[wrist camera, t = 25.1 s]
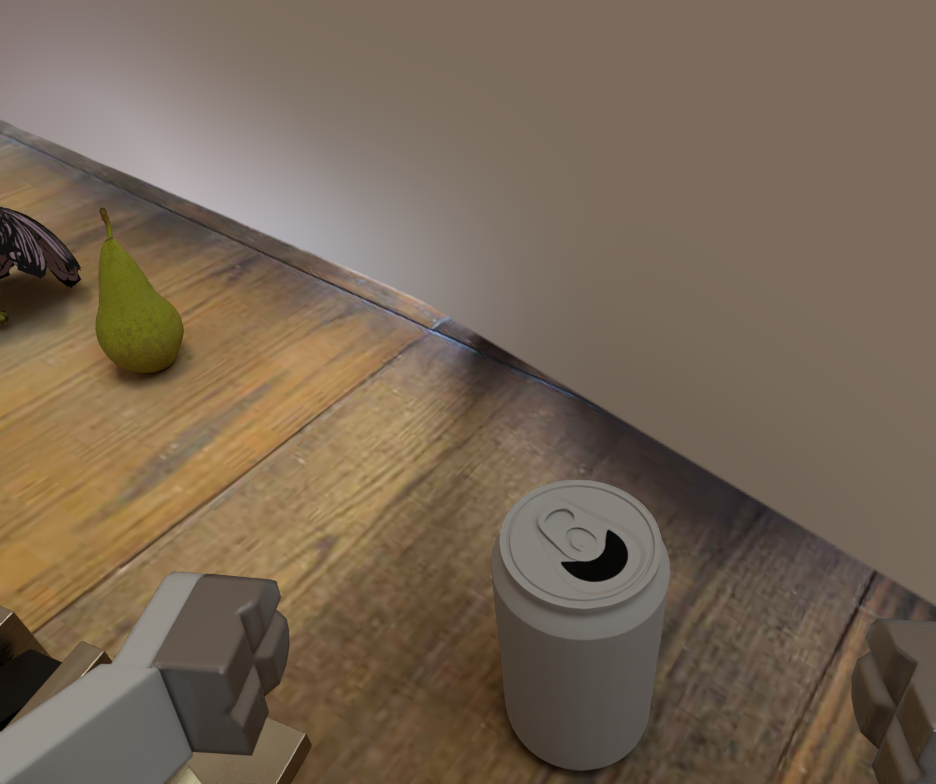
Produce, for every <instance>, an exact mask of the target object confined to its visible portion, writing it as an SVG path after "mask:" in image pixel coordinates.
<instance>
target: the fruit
mask: <svg viewBox="0 0 936 784" xmlns="http://www.w3.org/2000/svg"><path fill="white" fill-rule="evenodd" d="M100 214H101V217H102V220H103V221H104V222H105V224H106V228H107V240H106V241H105V243H104V245H103V247H102V250H101V255H100V262H99V308H98V314H97V318H96V334H97V339H98V341H99V344H100V346H101V348H102V349H103V351H104V352H105V354H106V355H107V356H108V358H109V359H110V360H112V361H113V362H114V363H115V364H116V365H118V366H120V367H121V368H124V369H126V370H129V371H132V372H137V373H153V372H157V371H160V370H163V369H165V368H167V367H168V366H170V365H171V364H172V363H173V362H174V360H175V358H176V356H177V353H178V350H179V348H180V345H181V342H182V338H183V333H184V330H183V324H182V320H181V317H180V315H179V313H178V311H177V310H176V309H175V308H174V306H173V305H172V304H171V303H170V302H168V301H167V300H166V299H165V298H163V297H162V296H161V295H159V294H158V293H157V292H156V291H155V290H154V288H153V287H152V285H151V284H150V282H149V281H148V279H147V278H146V276H145V275H144V273H143V272H142V271H141V269H140V268H139V266H138V265H137V263H136V262H135V261H134V260H133V258H132V257H131V256H130V255H129V254H128V253H127V252H126V251H125V250H124V248H123V247H122V246H121V245H120V244H119V243H118V242H117V241H115V240H114V238H113V235H112V230H111V225H110V221H109V217H108V215H107V211H106V209H105V208H101V209H100Z"/></svg>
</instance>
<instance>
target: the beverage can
mask: <svg viewBox="0 0 936 784" xmlns="http://www.w3.org/2000/svg"><path fill="white" fill-rule="evenodd" d="M491 572H492V581H493V591H494V600H495V610H496V620H497V629H498V639H499V648H500V658H501V668H502V677H503V687H504V696H505V706H506V711H507V715H508V718H509V721H510V723H511V726H512V728H513V730H514V731H515V733H516V735H517V736H518V738H519V739H520V740H521V742H522V743H523V744H524V745H525V746H526V747H527V748H528V749H529V750H530V751H531V752H532V753H534V754H535V755H536V756H538V757H539V758H541V759H542V760H544V761H546V762H548V763H550V764H552V765H555V766H558V767H561V768H564V769H569V770H578V771H583V770H592V769H598V768H603V767H606V766H609V765H611V764H613V763H615V762H617V761H619V760H620V759H622V758H623V757H625V756H626V755H627V754H628V753H629V752H630V751H631V750H632V749H633V748H634V747H635V746H636V745H637V743H638V742H639V741H640V739H641V737H642V736H643V734H644V731H645V729H646V726H647V723H648V719H649V713H650V707H651V700H652V693H653V687H654V680H655V673H656V667H657V660H658V653H659V647H660V640H661V633H662V627H663V620H664V613H665V607H666V600H667V593H668V587H669V580H670V562H669V557H668V554H667V550H666V548H665V545H664V543H663V541H662V539H661V534H660V531H659V528H658V525H657V523H656V521H655V520H654V518H653V516H652V515H651V514H650V512H649V511H648V510H647V509H646V507H645V506H644V505H642V504H641V503H640V502H639V501H638V500H637V499H635V498H634V497H633V496H631V495H629V494H628V493H626V492H624V491H622V490H620V489H618V488H616V487H613V486H611V485H608V484H604V483H600V482H596V481H589V480H565V481H558V482H554V483H550V484H547V485H544V486H541V487H538V488H536V489H534V490H533V491H531V492H529V493H527V494H526V495H525V496H523V497H522V498H521V499H519V500H518V501H517V502H516V503H515V504H514V505H513V506H512V508H511V509H510V510H509V512H508V513H507V515H506V517H505V519H504V521H503V524H502V527H501V531H500V533H499V535H498V537H497V539H496V541H495V544H494V547H493V551H492V557H491Z"/></svg>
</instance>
